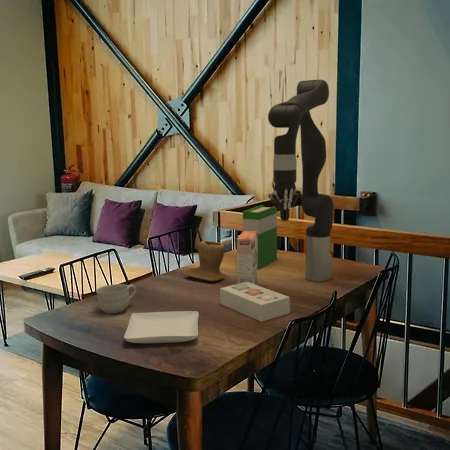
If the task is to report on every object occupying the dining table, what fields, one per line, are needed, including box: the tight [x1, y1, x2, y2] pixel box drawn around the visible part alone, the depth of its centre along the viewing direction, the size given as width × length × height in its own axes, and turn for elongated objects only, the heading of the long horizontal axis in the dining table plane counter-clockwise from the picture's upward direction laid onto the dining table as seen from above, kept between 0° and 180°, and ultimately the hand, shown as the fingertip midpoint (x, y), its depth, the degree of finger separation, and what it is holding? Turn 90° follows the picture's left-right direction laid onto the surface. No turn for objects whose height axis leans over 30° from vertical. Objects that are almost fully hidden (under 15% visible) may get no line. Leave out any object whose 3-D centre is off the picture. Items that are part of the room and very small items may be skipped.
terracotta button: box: [247, 289, 261, 296], centre depth 191 cm, size 4×4×3 cm
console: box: [219, 282, 291, 323], centre depth 191 cm, size 12×22×6 cm, turn 36°
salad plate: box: [123, 310, 200, 344], centre depth 172 cm, size 21×21×3 cm
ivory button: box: [261, 294, 274, 301], centre depth 186 cm, size 4×4×3 cm
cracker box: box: [236, 230, 258, 285], centre depth 210 cm, size 14×6×21 cm, turn 168°
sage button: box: [234, 283, 247, 291], centre depth 197 cm, size 4×4×3 cm
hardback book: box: [242, 204, 278, 271], centre depth 245 cm, size 18×7×24 cm, turn 150°
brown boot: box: [183, 240, 226, 282], centre depth 226 cm, size 15×12×15 cm
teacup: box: [95, 283, 137, 314], centre depth 192 cm, size 14×11×8 cm
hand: (284, 220), depth 190 cm, fingers closed
